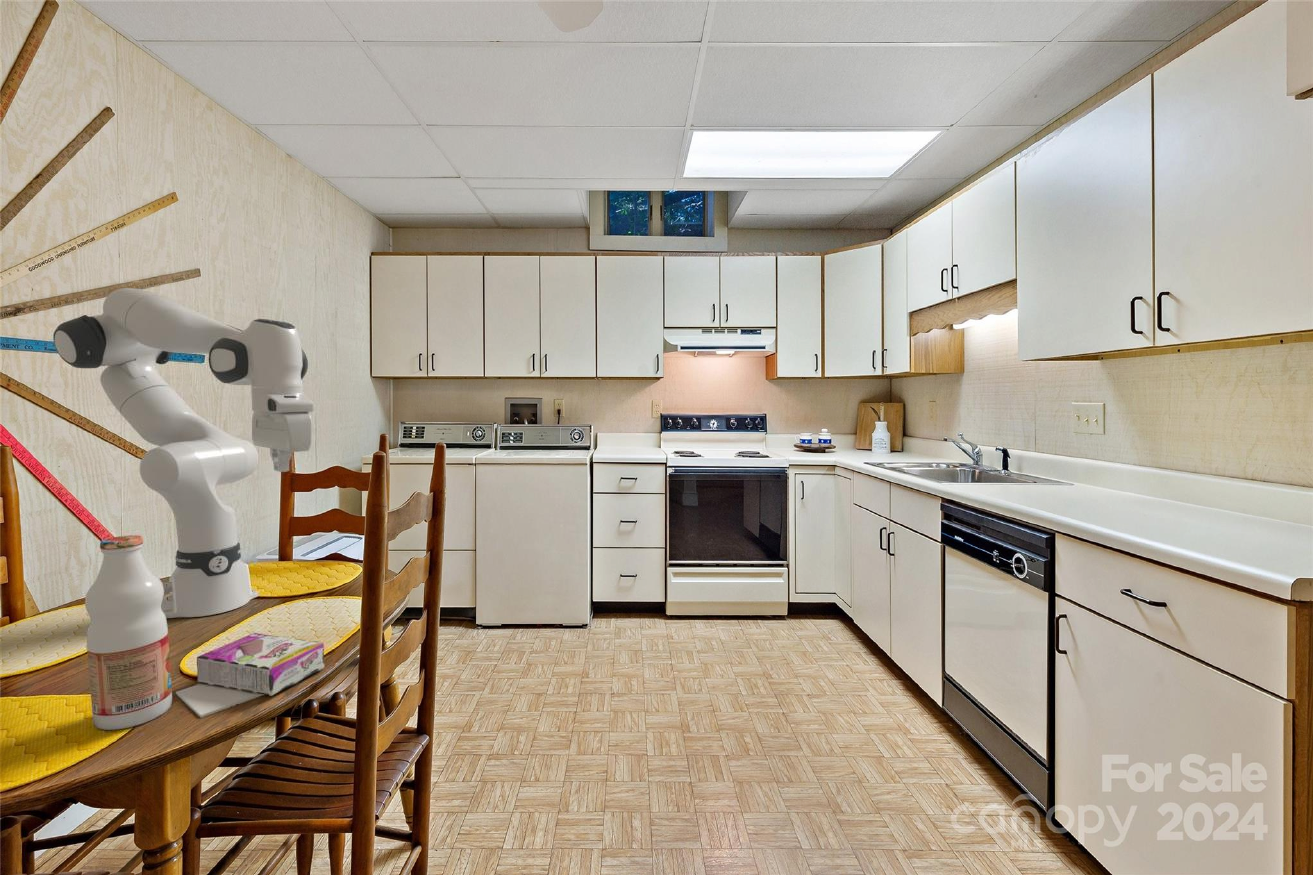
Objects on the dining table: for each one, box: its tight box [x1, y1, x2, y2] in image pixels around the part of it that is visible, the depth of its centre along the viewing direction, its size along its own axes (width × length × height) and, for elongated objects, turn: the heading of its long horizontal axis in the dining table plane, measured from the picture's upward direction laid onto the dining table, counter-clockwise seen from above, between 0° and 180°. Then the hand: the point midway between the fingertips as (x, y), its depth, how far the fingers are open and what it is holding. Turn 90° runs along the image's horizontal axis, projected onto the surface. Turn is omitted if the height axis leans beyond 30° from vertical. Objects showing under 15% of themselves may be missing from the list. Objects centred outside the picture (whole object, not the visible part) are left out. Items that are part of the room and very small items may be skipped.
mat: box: [175, 681, 299, 719], centre depth 103 cm, size 12×14×1 cm
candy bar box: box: [196, 632, 325, 697], centre depth 106 cm, size 11×5×16 cm
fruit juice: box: [84, 534, 173, 731], centre depth 93 cm, size 9×9×28 cm
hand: (281, 471), depth 121 cm, fingers closed
